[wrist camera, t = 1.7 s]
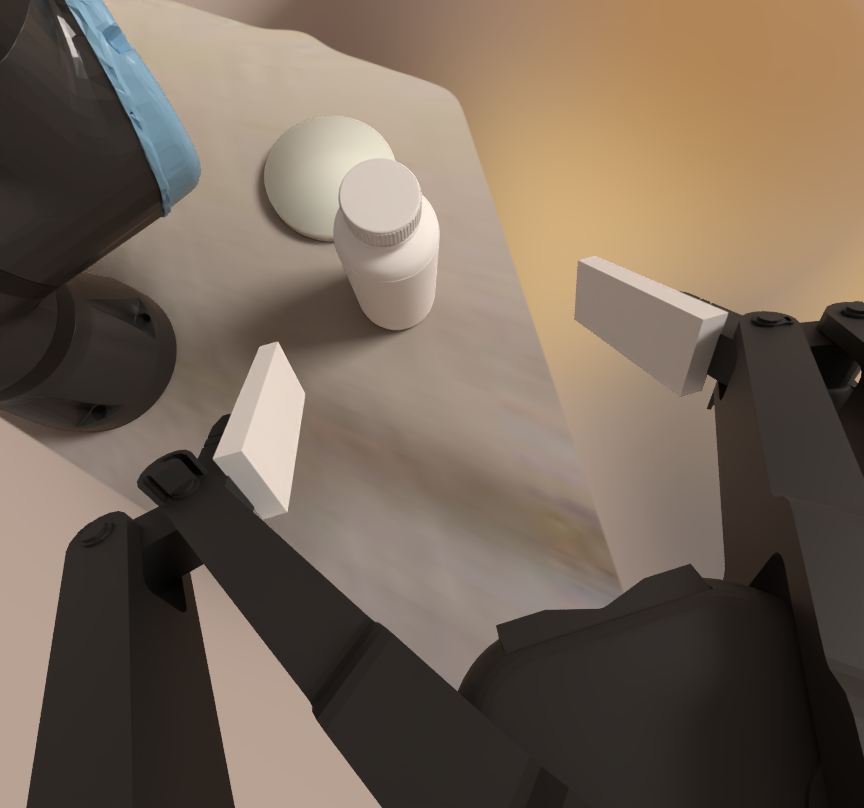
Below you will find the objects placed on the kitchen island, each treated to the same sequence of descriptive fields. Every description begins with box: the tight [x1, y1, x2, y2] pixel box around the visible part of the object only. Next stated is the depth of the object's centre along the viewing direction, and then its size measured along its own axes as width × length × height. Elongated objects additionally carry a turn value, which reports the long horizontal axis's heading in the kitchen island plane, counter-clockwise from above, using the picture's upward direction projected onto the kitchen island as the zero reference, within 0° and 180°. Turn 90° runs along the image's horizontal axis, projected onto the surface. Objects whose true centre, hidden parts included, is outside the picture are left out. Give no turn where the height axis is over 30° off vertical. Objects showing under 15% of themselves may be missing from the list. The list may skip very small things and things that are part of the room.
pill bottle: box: [333, 158, 439, 330], centre depth 30 cm, size 8×8×15 cm
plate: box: [264, 115, 395, 242], centre depth 38 cm, size 14×14×1 cm
